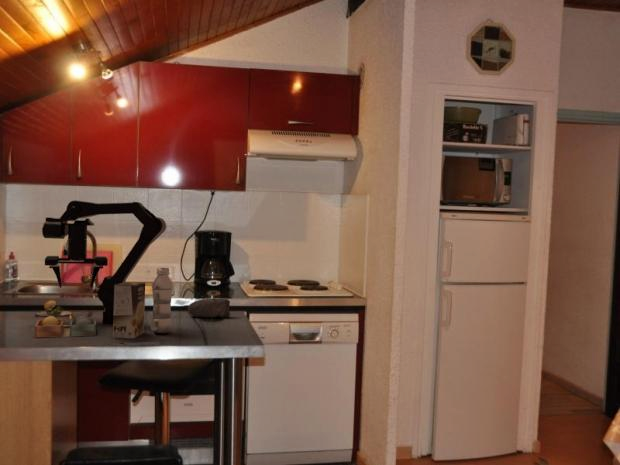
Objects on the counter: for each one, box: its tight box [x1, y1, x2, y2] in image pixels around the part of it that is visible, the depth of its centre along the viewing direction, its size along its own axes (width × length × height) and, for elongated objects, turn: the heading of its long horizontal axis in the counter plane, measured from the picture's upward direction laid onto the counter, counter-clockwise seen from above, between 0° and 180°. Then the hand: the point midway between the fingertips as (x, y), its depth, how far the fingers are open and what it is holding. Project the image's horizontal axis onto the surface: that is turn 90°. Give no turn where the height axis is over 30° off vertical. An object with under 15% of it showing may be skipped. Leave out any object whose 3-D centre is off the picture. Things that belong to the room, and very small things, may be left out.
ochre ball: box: [42, 316, 58, 326], centre depth 172 cm, size 4×4×4 cm
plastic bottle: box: [150, 267, 174, 335], centre depth 179 cm, size 6×7×20 cm
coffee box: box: [112, 281, 146, 339], centre depth 170 cm, size 9×6×16 cm
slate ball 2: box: [76, 318, 92, 325], centre depth 170 cm, size 4×4×4 cm
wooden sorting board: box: [34, 317, 97, 338], centre depth 174 cm, size 16×20×4 cm
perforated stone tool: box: [187, 298, 231, 319], centre depth 212 cm, size 15×5×7 cm, turn 92°
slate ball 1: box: [75, 315, 91, 325], centre depth 175 cm, size 4×4×4 cm
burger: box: [34, 297, 73, 318], centre depth 202 cm, size 12×12×8 cm
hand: (76, 287), depth 189 cm, fingers open, 9 cm apart
